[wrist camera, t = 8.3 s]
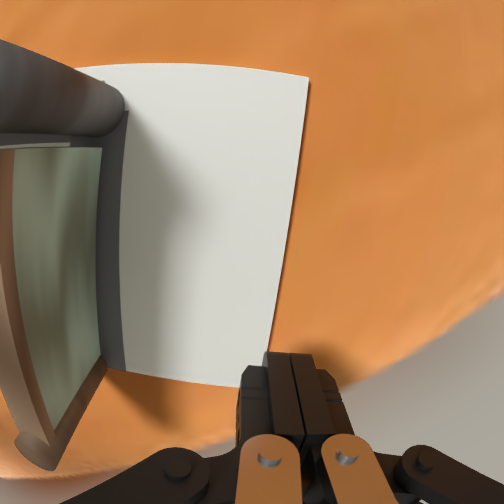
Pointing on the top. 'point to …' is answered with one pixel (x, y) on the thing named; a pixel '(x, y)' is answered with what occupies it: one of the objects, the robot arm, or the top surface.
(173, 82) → the card
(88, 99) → the fence fixed section
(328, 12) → the top surface
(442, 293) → the top surface
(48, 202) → the panel
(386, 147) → the top surface
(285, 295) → the top surface
